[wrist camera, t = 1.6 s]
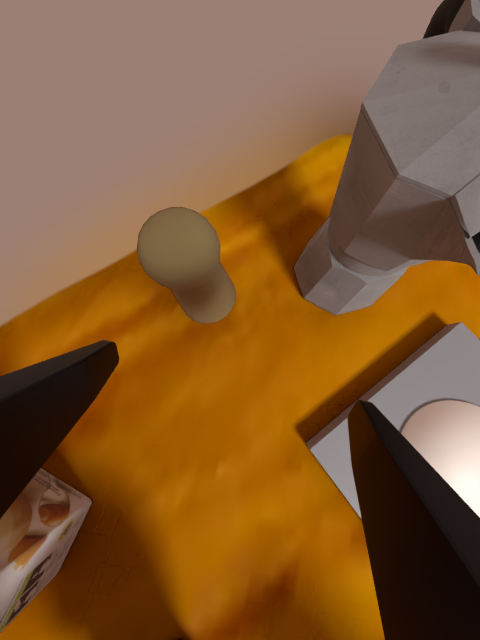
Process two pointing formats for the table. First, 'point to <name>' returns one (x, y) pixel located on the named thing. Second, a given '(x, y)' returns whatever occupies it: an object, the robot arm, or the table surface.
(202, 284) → the cork
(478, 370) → the serving board
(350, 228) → the coffeepot
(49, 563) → the coffee box
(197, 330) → the table surface
